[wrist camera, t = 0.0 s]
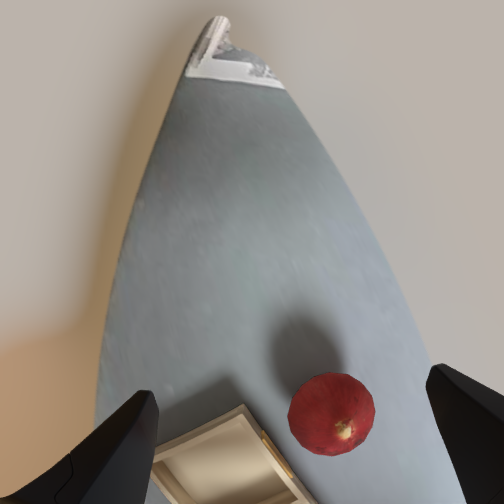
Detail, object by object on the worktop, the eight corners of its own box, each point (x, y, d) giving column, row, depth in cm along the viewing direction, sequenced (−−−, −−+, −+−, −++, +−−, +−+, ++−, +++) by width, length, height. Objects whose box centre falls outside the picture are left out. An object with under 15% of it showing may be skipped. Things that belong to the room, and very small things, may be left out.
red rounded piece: (369, 406, 22) (412, 435, 14) (310, 448, 22) (331, 494, 14) (331, 352, 23) (365, 363, 16) (269, 395, 23) (275, 427, 15)
